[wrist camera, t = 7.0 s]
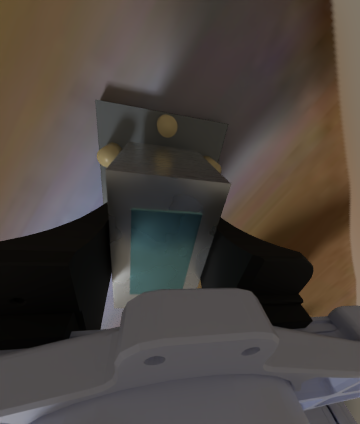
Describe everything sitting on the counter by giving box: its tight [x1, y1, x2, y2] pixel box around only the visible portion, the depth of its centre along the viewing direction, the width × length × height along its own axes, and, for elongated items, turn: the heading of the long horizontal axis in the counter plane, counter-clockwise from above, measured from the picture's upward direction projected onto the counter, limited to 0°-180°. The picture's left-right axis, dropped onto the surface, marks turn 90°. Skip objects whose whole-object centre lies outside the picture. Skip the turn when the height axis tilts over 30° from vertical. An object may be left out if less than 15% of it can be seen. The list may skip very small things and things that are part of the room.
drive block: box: [105, 141, 231, 308], centre depth 10 cm, size 8×4×6 cm, turn 171°
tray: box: [95, 100, 228, 205], centre depth 14 cm, size 12×9×3 cm
